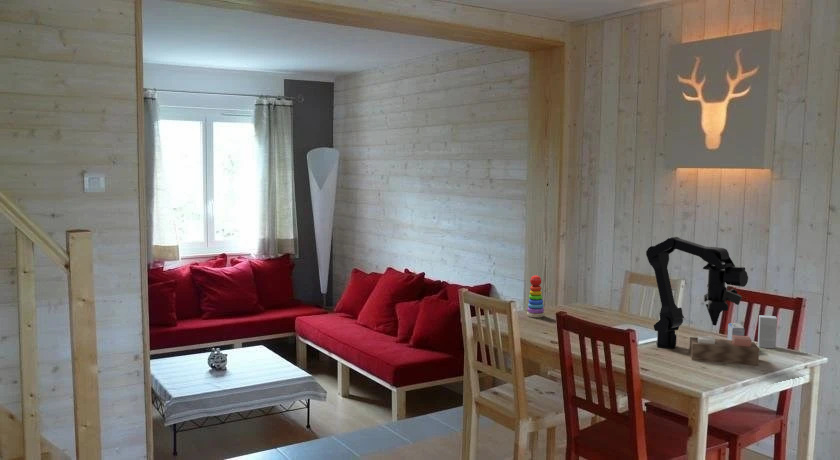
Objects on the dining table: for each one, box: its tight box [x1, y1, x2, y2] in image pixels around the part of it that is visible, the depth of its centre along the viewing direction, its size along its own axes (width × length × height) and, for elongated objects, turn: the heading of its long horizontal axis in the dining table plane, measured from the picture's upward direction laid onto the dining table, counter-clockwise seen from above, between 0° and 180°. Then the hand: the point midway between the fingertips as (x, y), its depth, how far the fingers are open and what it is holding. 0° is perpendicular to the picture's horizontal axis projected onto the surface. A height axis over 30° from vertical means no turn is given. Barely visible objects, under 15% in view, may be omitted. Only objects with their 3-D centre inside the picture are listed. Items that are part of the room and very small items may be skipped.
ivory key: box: [696, 335, 716, 344], centre depth 258 cm, size 6×6×4 cm
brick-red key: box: [732, 335, 753, 347], centre depth 255 cm, size 6×6×4 cm
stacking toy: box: [526, 275, 545, 318], centre depth 322 cm, size 8×8×19 cm
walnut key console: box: [688, 336, 760, 366], centre depth 257 cm, size 22×10×6 cm, turn 75°
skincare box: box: [757, 314, 778, 349], centre depth 275 cm, size 6×4×12 cm
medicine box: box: [726, 322, 745, 340], centre depth 273 cm, size 8×4×9 cm, turn 168°
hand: (714, 325), depth 257 cm, fingers closed
